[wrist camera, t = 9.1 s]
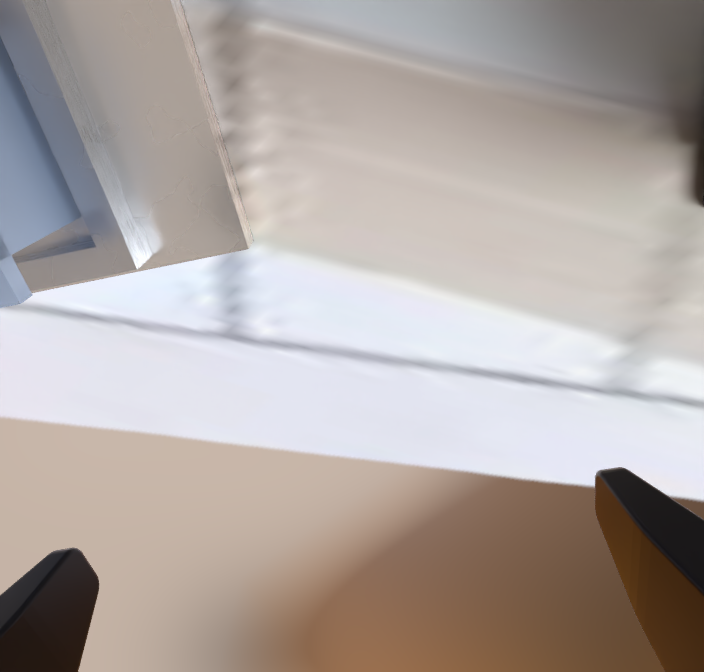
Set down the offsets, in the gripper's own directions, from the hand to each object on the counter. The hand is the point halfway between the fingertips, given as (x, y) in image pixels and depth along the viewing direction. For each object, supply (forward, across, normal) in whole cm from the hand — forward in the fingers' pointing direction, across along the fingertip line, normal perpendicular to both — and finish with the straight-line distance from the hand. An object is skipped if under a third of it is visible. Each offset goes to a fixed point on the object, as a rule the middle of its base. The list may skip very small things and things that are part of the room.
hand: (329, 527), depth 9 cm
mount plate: (+12, +9, -7) cm, 17 cm away
